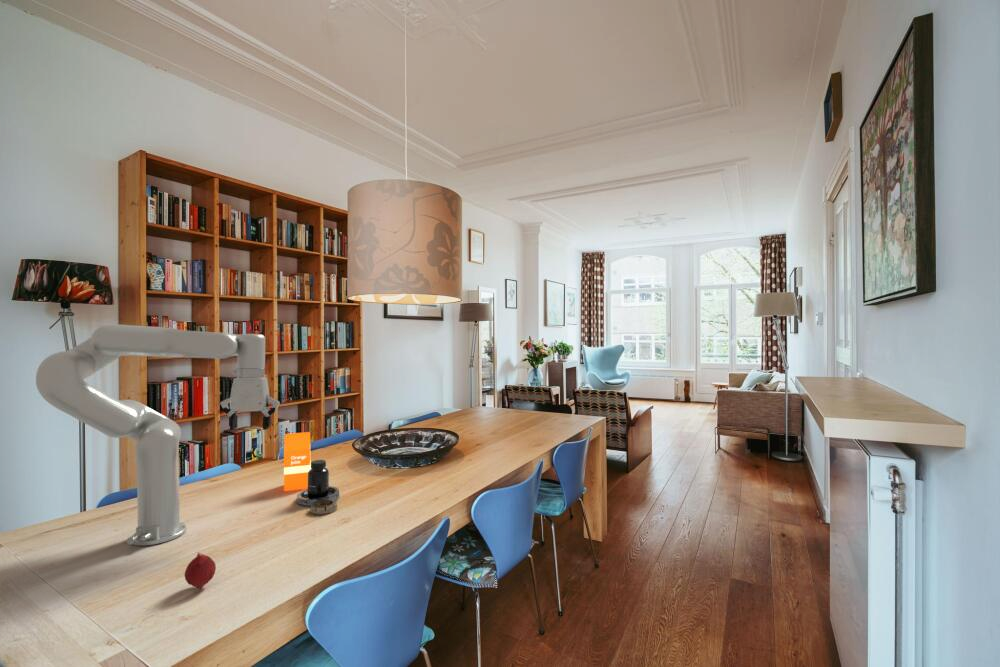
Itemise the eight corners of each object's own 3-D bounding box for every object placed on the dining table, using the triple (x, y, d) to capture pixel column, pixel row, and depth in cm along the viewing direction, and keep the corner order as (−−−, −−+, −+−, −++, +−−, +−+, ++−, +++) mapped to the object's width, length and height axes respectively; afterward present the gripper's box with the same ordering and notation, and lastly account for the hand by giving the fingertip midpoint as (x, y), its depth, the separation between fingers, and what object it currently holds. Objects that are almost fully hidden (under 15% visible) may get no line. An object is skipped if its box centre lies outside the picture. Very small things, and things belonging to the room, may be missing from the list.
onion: (221, 580, 105) (220, 545, 105) (205, 594, 99) (205, 558, 99) (195, 580, 105) (195, 546, 105) (178, 595, 99) (178, 558, 99)
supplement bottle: (306, 500, 151) (305, 465, 151) (309, 493, 158) (308, 459, 158) (327, 498, 153) (327, 463, 153) (329, 491, 159) (329, 458, 159)
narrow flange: (333, 514, 142) (333, 507, 142) (307, 515, 141) (306, 508, 141) (340, 504, 150) (340, 498, 150) (315, 505, 149) (315, 499, 149)
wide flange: (332, 506, 149) (332, 499, 149) (290, 507, 148) (290, 500, 148) (343, 491, 163) (343, 485, 163) (305, 492, 162) (305, 486, 162)
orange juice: (310, 488, 166) (309, 434, 166) (283, 491, 163) (283, 436, 163) (310, 481, 174) (310, 429, 174) (285, 484, 170) (285, 431, 170)
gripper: (215, 374, 135) (213, 431, 135) (275, 375, 137) (273, 431, 136) (228, 372, 143) (227, 426, 142) (284, 373, 144) (283, 426, 144)
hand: (249, 428), depth 139 cm, fingers open, 9 cm apart
